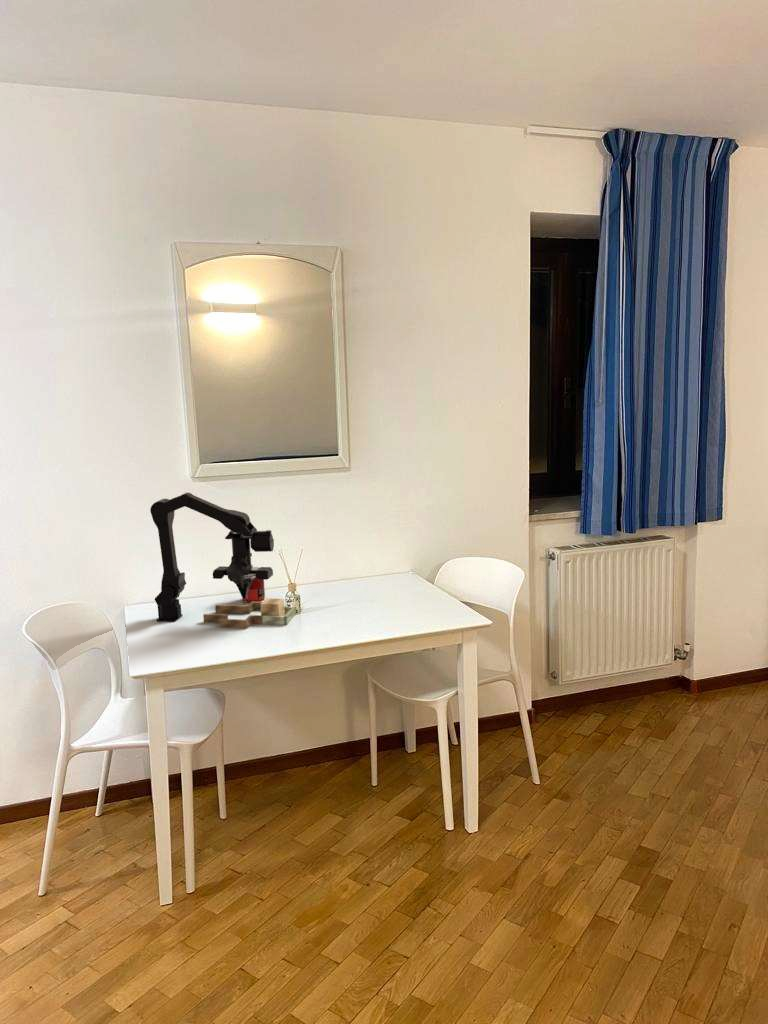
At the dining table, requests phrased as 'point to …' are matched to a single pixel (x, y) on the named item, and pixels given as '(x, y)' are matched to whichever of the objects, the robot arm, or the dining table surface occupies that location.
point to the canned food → (255, 590)
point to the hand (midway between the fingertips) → (244, 598)
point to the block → (272, 607)
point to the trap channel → (250, 620)
